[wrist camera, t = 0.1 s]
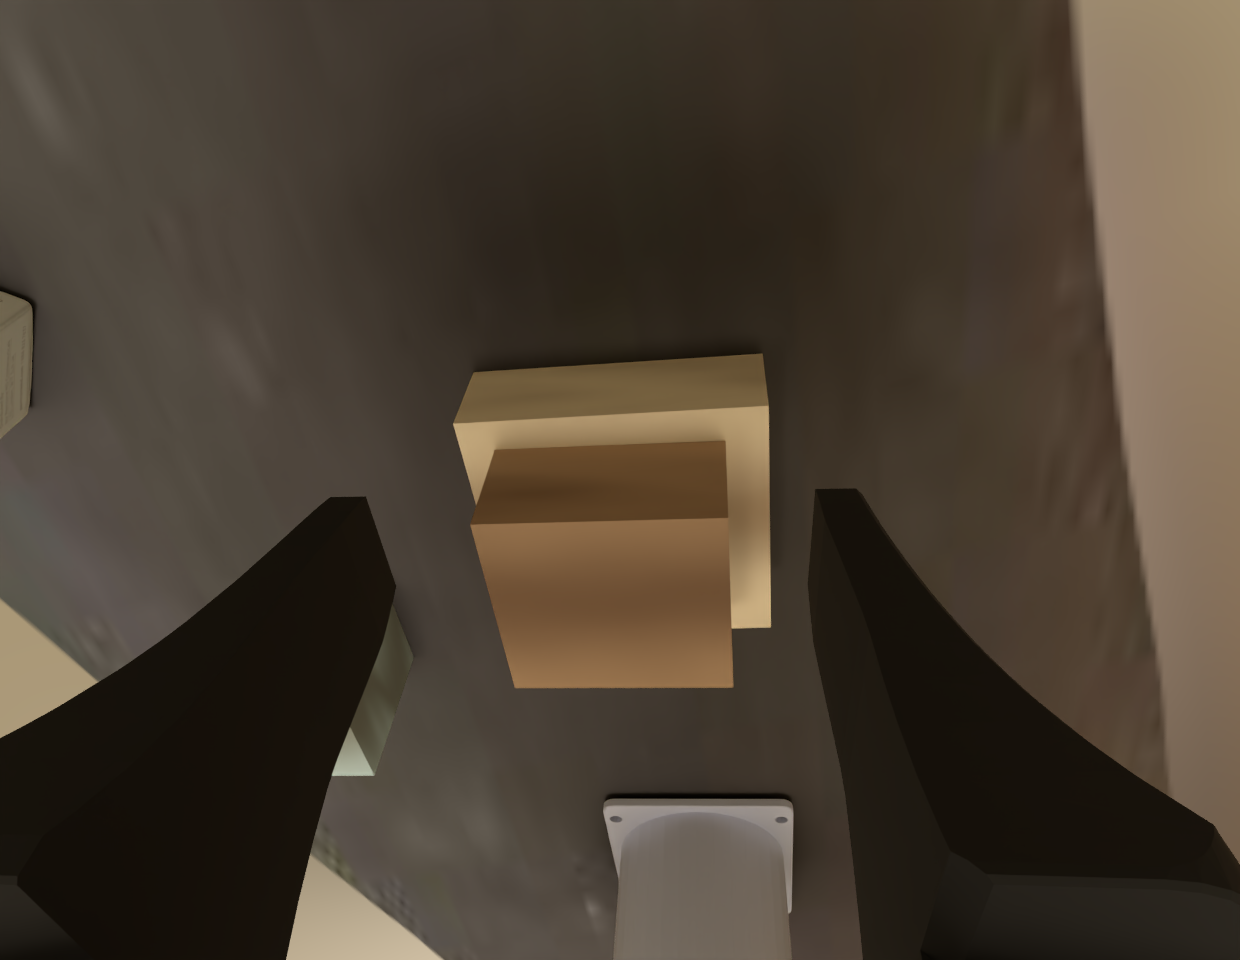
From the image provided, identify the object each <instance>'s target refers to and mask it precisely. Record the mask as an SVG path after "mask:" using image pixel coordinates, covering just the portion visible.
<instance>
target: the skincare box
mask: <svg viewBox="0 0 1240 960" xmlns="http://www.w3.org/2000/svg"><path fill="white" fill-rule="evenodd" d="M32 351H33V313H32V306H31V305H30V303H29V302H27V301H25V300H23V299H21V298H18V297H15V296H13V295H10V294H7V293H5V292H2V291H0V439H1V438H2V437H3V436H4V435H5V434H6V433H7V432H8V431H9V430H11V429H12V428H13V427H14V426H15V425H16V424H17V423H19V422H20V421H21V420H22V419H23V418H24V417H25V416H26V415H27V413H28V407H29V405H30V391H31V377H32Z"/></svg>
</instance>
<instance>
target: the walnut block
mask: <svg viewBox="0 0 1240 960" xmlns="http://www.w3.org/2000/svg"><path fill="white" fill-rule="evenodd" d="M470 526H471V529H472V533H473V537H474V540H475V544H476V548H477V551H478V555H479V559H480V562H481V566H482V569H483V573H484V577H485V580H486V584H487V588H488V591H489V595H490V599H491V602H492V606H493V610H494V613H495V617H496V620H497V624H498V628H499V631H500V635H501V639H502V642H503V646H504V650H505V653H506V657H507V661H508V664H509V668H510V671H511V675H512V679H513V682H514V686H515V688H733V662H732V628H731V594H730V560H729V526H728V496H727V468H726V441H708V442H680V443H653V444H626V445H599V446H574V447H550V448H525V449H500V450H494V453H493V456H492V459H491V463H490V466H489V469H488V472H487V475H486V478H485V481H484V484H483V487H482V490H481V493H480V496H479V499H478V502H477V505H476V508H475V512H474V515H473V518H472V521H471V524H470Z"/></svg>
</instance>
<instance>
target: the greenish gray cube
mask: <svg viewBox="0 0 1240 960" xmlns="http://www.w3.org/2000/svg"><path fill="white" fill-rule="evenodd" d="M413 659H414V657H413V654H412V651H411V649H410V646H409V644H408V641H407V639H406V636H405V634H404V631H403V629H402V626H401V624H400V621H399V619H398V616H397V614H396V611H395V609H394V606H393V604H392V607H391V611H390V616H389V620H388V624H387V628H386V632H385V636H384V640H383V643H382V646H381V648H380V651H379V654H378V656H377V659H376V662H375V664H374V667H373V670H372V672H371V675H370V677H369V680H368V683H367V685H366V688H365V690H364V693H363V695H362V698H361V700H360V703H359V705H358V708H357V711H356V713H355V716H354V718H353V721H352V723H351V726H350V728H349V731H348V733H347V736H346V738H345V741H344V744H343V746H342V749H341V751H340V754H339V756H338V759H337V762H336V765H335V767H334V770H333V773H332V776H375V773H376V770H377V767H378V764H379V761H380V758H381V755H382V752H383V749H384V746H385V743H386V740H387V737H388V734H389V731H390V728H391V725H392V722H393V719H394V716H395V713H396V710H397V707H398V704H399V701H400V698H401V695H402V692H403V689H404V686H405V683H406V680H407V677H408V674H409V671H410V668H411V665H412V662H413Z"/></svg>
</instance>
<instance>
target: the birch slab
mask: <svg viewBox="0 0 1240 960" xmlns="http://www.w3.org/2000/svg"><path fill="white" fill-rule="evenodd" d="M453 425H454V428H455V432H456V436H457V439H458V443H459V446H460V450H461V453H462V457H463V460H464V464H465V467H466V471H467V474H468V478H469V481H470V485H471V488H472V492H473V495H474V499H475V502H476V505H477V502H478V499H479V496H480V493H481V490H482V487H483V484H484V481H485V478H486V475H487V472H488V469H489V466H490V463H491V459H492V456H493V453H494V450H500V449H525V448H550V447H574V446H599V445H626V444H653V443H680V442H708V441H726V468H727V496H728V526H729V560H730V594H731V628H768V627H771V588H770V483H769V404H768V395H767V387H766V379H765V370H764V362H763V354H749V355H733V356H718V357H702V358H687V359H671V360H656V361H640V362H625V363H609V364H594V365H578V366H563V367H547V368H532V369H516V370H501V371H485V372H473V375H472V377H471V380H470V382H469V385H468V387H467V390H466V393H465V395H464V398H463V400H462V403H461V405H460V408H459V410H458V413H457V415H456V418H455V420H454V423H453Z"/></svg>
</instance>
